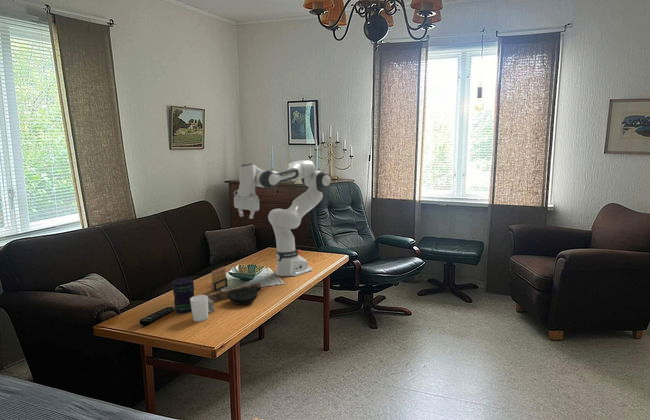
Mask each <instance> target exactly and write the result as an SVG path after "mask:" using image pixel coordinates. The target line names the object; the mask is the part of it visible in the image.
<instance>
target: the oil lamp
mask: <svg viewBox="0 0 650 420" xmlns="http://www.w3.org/2000/svg"><path fill="white" fill-rule="evenodd" d="M260 291H261V290H260V288H259V287H253V286H252V287H251V288H245V289H237V290H233V291H231V292H230V293H228V300H230V301H231V302H232V303H233V304H235V305H248V304H250V303H252V302H253V301H255V299H256V298H257V297H258V293H259V292H260Z"/></svg>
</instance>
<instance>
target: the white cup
mask: <svg viewBox="0 0 650 420" xmlns="http://www.w3.org/2000/svg"><path fill="white" fill-rule="evenodd" d="M206 295H207V294H198V295H194V297H192V298H190V303H191V310H192V312H191V314H192V321H194V322H203V321H206V320H208V319H209V311H208V296H206Z"/></svg>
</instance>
